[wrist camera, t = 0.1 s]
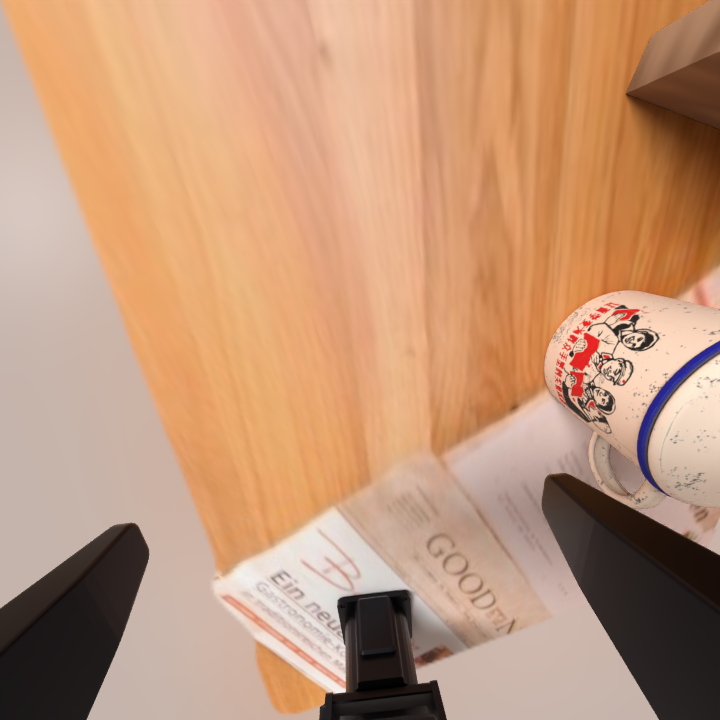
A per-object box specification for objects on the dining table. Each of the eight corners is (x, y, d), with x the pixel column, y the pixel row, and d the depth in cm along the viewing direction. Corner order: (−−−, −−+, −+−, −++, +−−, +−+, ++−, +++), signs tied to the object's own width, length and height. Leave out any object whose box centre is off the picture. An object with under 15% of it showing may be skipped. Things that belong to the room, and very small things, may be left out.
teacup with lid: (569, 273, 21) (822, 329, 10) (699, 298, 22) (1056, 373, 11) (504, 437, 25) (629, 601, 14) (615, 451, 26) (810, 614, 15)
